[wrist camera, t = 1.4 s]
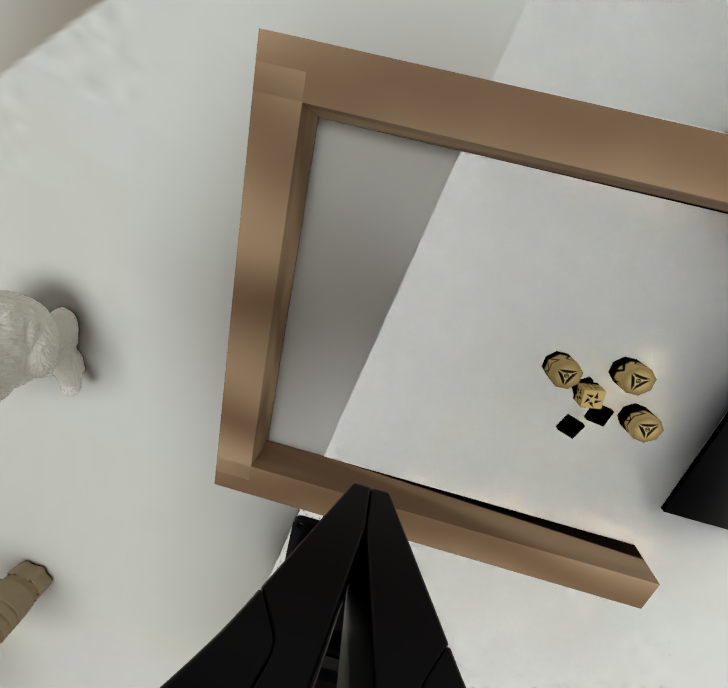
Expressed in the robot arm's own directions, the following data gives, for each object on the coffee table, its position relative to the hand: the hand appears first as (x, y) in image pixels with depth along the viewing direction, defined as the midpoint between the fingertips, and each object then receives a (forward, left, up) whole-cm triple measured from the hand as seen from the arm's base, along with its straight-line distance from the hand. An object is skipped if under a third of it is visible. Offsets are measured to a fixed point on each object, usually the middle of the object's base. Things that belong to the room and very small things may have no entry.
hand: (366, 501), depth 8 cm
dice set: (0, -11, -13) cm, 17 cm away
